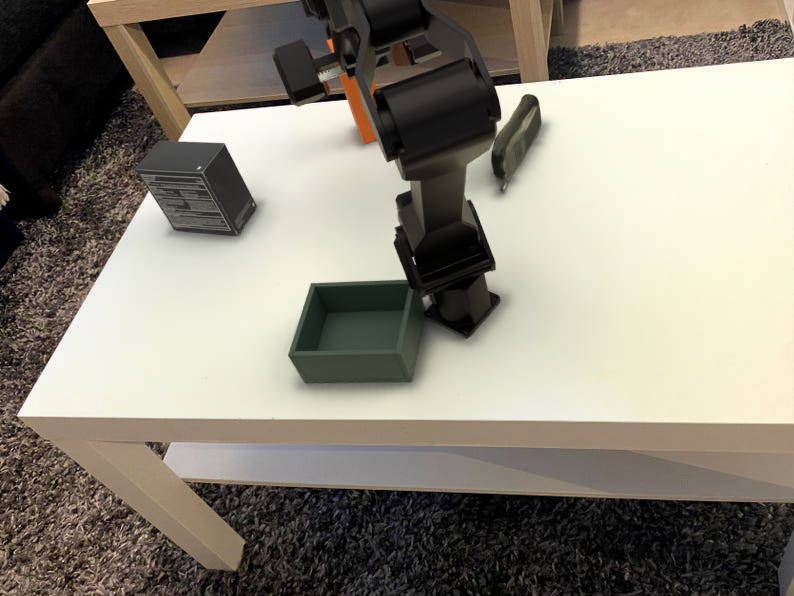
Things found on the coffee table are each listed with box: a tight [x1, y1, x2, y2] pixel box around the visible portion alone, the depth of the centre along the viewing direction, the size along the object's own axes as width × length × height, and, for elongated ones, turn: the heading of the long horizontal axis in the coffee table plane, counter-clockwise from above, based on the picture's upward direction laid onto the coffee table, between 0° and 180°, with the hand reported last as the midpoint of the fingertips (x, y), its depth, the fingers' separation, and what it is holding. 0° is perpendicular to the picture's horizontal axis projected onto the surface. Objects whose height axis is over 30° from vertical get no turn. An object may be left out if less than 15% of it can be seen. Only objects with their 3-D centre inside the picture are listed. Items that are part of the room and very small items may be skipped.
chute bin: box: [287, 279, 427, 384], centre depth 80 cm, size 12×10×5 cm
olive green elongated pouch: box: [490, 93, 543, 193], centre depth 96 cm, size 5×3×15 cm
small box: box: [134, 140, 258, 236], centre depth 96 cm, size 11×6×10 cm, turn 74°
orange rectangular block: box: [326, 39, 378, 145], centre depth 101 cm, size 4×4×14 cm
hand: (361, 74), depth 91 cm, fingers open, 9 cm apart
